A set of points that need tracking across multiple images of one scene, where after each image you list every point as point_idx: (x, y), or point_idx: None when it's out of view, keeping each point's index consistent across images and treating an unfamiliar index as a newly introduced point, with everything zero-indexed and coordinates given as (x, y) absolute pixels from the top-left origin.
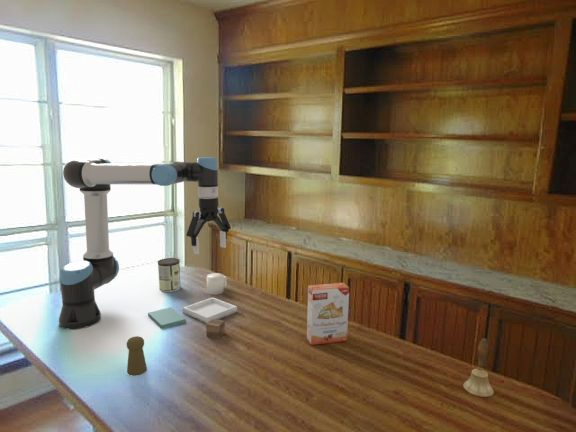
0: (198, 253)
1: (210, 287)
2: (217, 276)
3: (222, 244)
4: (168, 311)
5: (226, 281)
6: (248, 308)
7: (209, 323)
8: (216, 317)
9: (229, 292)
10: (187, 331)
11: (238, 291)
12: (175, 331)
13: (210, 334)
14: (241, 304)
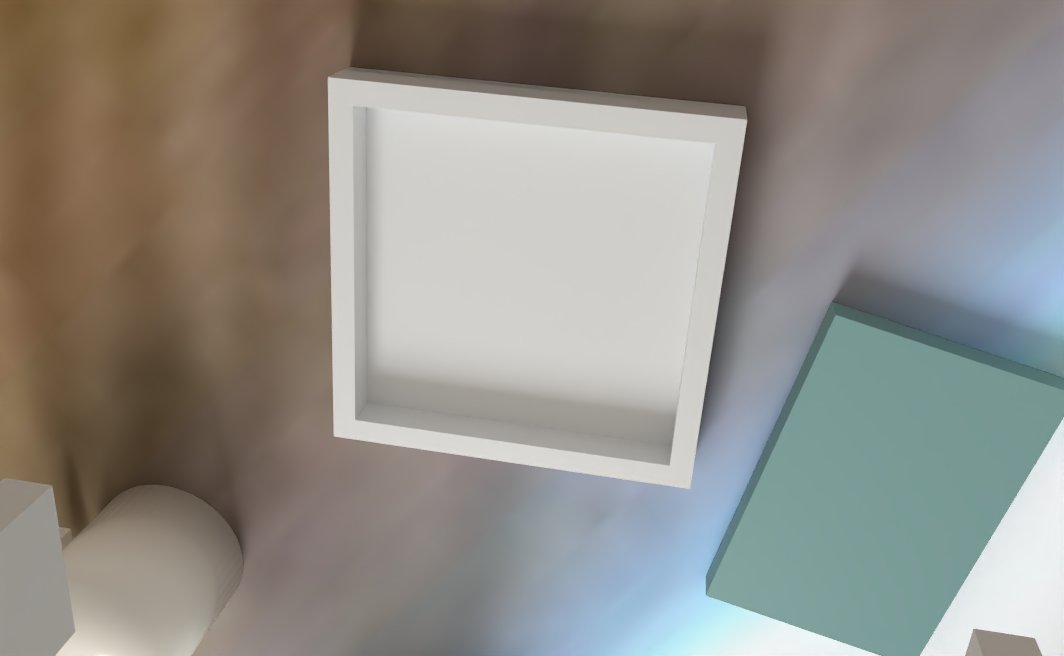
0: (1002, 652)
1: (210, 584)
2: (80, 623)
3: (9, 609)
4: (792, 551)
5: None
6: (211, 31)
7: None
8: (620, 99)
9: (93, 443)
10: (993, 138)
11: (18, 394)
12: (1052, 233)
13: None
14: (195, 161)
